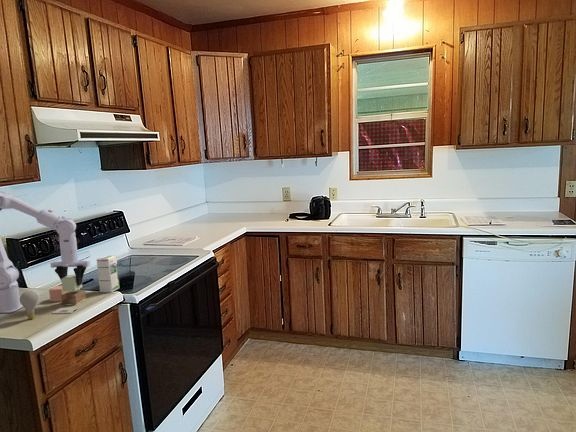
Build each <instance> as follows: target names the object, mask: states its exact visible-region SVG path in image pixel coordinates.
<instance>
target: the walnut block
mask: <svg viewBox="0 0 576 432" xmlns="http://www.w3.org/2000/svg"><path fill="white" fill-rule="evenodd" d="M86 294H87V293H86V290H76V291H69V292H67V293H65V294H63V295H61V299H62V301H61V305H62V304H77V303H78V302H80V301H82V300H83V299H85V298H86V299H87V297H86Z"/></svg>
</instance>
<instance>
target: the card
mask: <svg viewBox="0 0 576 432" xmlns="http://www.w3.org/2000/svg"><path fill="white" fill-rule="evenodd" d="M73 308H74V307H60V308H57V309H56V310H55V311H54V310H53V312H51V313H52V315H55V314H56V315H59V314H60V313H61V314H63V313H70V314H72V312H73V311H74V310H73ZM74 312H75V311H74ZM74 312H73V313H74ZM61 314H60V315H61ZM63 315H64V314H63Z"/></svg>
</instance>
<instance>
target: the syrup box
mask: <svg viewBox="0 0 576 432" xmlns="http://www.w3.org/2000/svg"><path fill="white" fill-rule="evenodd" d="M96 267H97V275H98V276H97V277H98V284H99V292H100V293H113V292H115V291H117V290H119V289H120V277H119V268H118V259H117V255H104V256H101V257H99V258H96Z"/></svg>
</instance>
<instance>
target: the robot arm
mask: <svg viewBox="0 0 576 432" xmlns="http://www.w3.org/2000/svg"><path fill="white" fill-rule="evenodd" d="M4 209H5V210H9V209H14V210H16V211H19V212H20V213H23V214H26V215H28V216H30V217H33V218H35V219H36V222H37V223H38V224H41V225H42V226H45V227H47V228H49V229H51V230H53V231H56V233H57V234H58V236H59V237H58V238H59V241H58V242H59V248H60V249H59V250H60V259H61V260H60V261H51V262H50V268H53V269H54V268H55V269H54V273H56V275H57V276H58V277H59V279H60V281H61V282H62V280H61V278H64V277H66V276H68V270H69V268H73V272H74V275H76V282H77V286H79V285H81V284H82V285H83V277H84V274H85V272H86V270H87V268H89V267H90V266H91V261H90V260H79V255H78V253H79V252H78V243H77V237H76V236H77V235H76V229H77V224H76V221H74V220H73V219H72V218H66V216H65V215H62V216H61V215H60V214H58V213H55V212H54V210H53V209H51V208H49V209H47V208H45V209H39V208H37V207H35V206H34V205H31V204H30V203H27V202H25V201H24V200H22V199H20V198H18V197H15V195H12V194H9V193H6V192H4V191H0V212H1V211H2V210H4ZM19 276H20V271H19V270H18V268H17V267H15V266H14V263H13V262H12V261H11V260H10V259H9V257H8V255H7V252H6V249H5V246H4V244H3V241H2V238H1V236H0V313H1V314H2V313H4V314H5V313H6V314H8V313H10V314H12V313H15V312H16V311H18V310H20V309H22V308H24V307H23V305H22V304H21V303H20V296H21V295H20V291H19V290H20V289H19V283H18V281H17V280H18V279H19Z"/></svg>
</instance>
